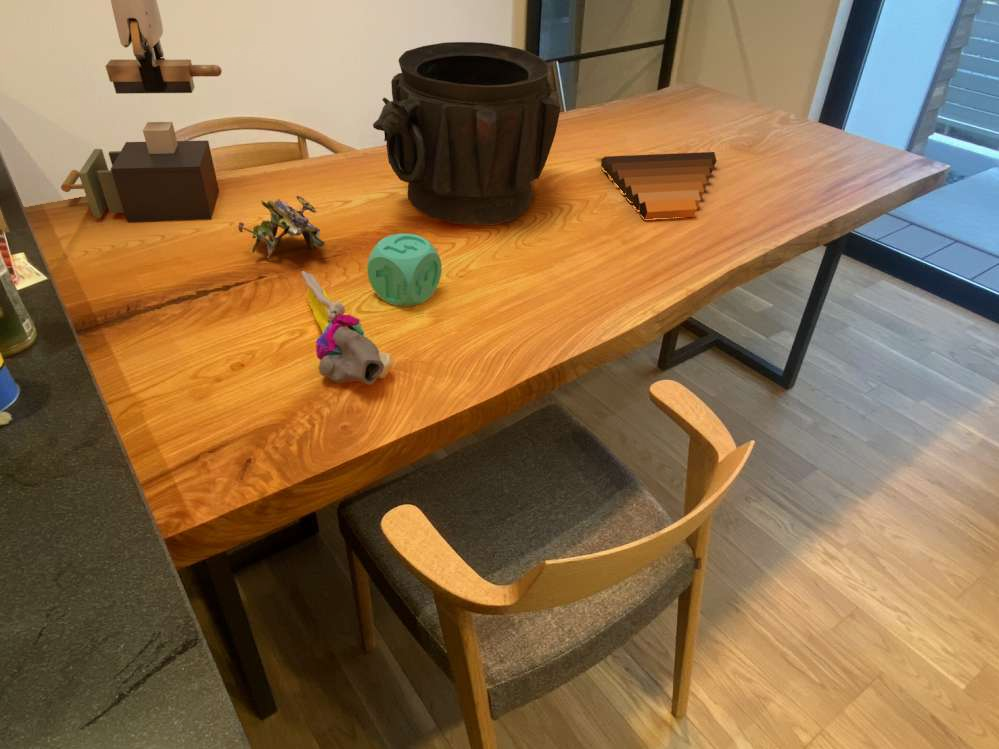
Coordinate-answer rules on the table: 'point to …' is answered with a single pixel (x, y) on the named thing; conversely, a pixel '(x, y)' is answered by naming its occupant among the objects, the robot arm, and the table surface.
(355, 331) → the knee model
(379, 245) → the decorative dice
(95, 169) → the drawer
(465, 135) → the vessel
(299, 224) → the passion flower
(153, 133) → the felt block
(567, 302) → the table surface
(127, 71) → the brush
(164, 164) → the dark wooden cuboid
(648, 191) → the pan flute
